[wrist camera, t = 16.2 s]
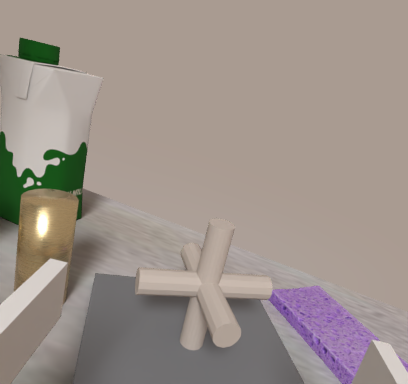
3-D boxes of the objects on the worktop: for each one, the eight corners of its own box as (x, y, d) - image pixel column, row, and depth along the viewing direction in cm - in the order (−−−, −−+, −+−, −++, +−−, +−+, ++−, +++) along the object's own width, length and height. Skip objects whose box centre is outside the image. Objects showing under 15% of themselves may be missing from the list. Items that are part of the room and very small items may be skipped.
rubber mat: (94, 282, 32) (95, 273, 32) (251, 296, 36) (253, 288, 36) (57, 462, 17) (59, 448, 17) (330, 453, 21) (335, 442, 21)
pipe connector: (123, 298, 29) (143, 190, 27) (230, 302, 32) (258, 205, 30) (129, 403, 20) (160, 255, 17) (276, 394, 23) (324, 267, 21)
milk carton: (40, 197, 48) (54, 46, 42) (92, 219, 45) (115, 60, 39) (-21, 213, 40) (-14, 29, 34) (38, 240, 37) (56, 45, 31)
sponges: (353, 404, 26) (362, 385, 26) (264, 301, 37) (269, 286, 36) (410, 388, 29) (419, 371, 29) (313, 297, 40) (318, 283, 39)
